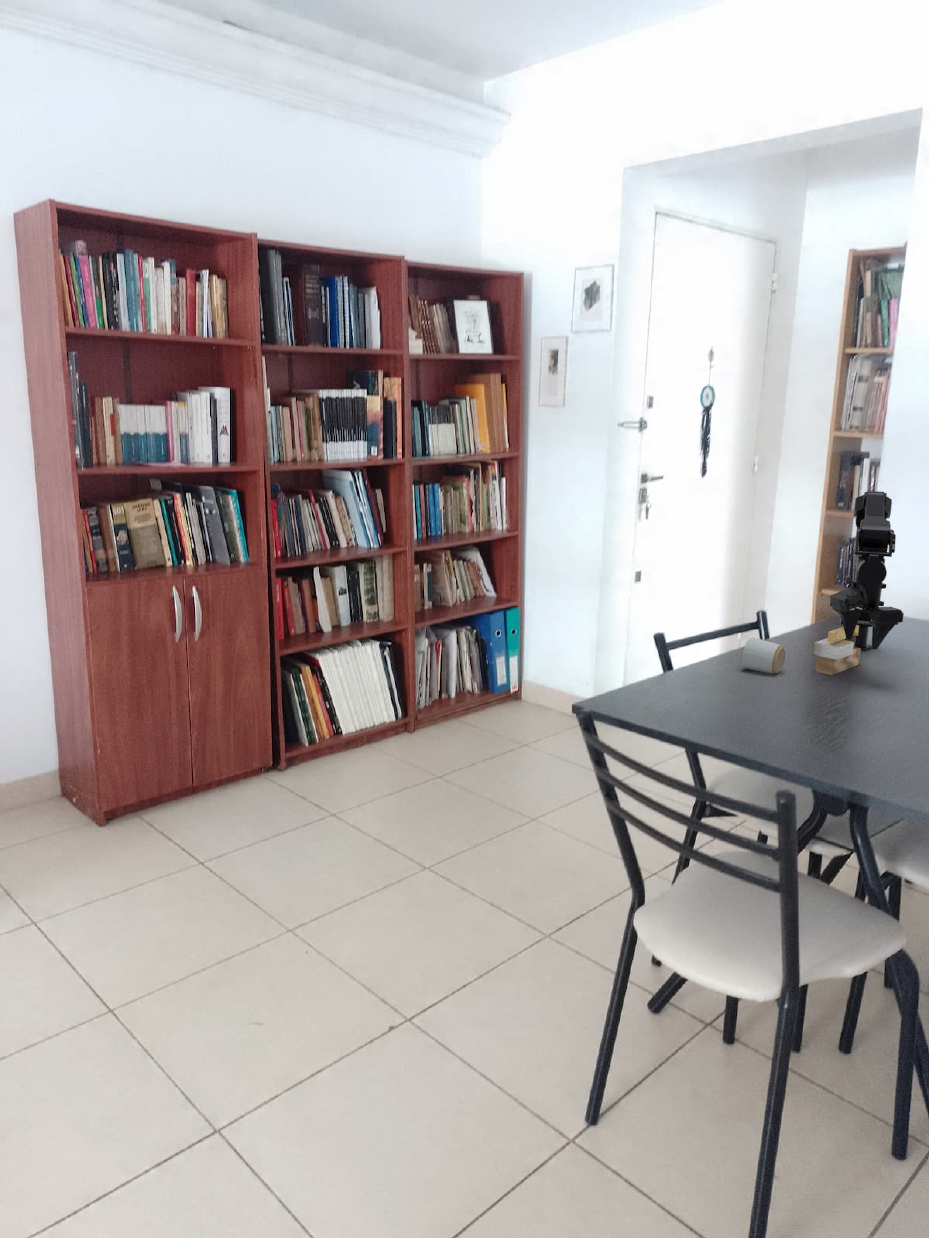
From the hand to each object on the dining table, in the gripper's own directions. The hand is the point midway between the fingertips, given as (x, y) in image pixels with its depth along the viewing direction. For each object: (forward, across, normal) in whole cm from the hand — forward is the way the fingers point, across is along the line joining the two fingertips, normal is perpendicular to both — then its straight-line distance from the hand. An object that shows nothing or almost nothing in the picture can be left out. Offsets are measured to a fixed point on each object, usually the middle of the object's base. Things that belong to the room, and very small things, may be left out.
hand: (861, 644), depth 213 cm
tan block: (+8, -8, 0) cm, 11 cm away
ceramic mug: (+8, -10, -19) cm, 23 cm away
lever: (+1, -8, +1) cm, 8 cm away
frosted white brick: (+4, -6, -3) cm, 8 cm away
